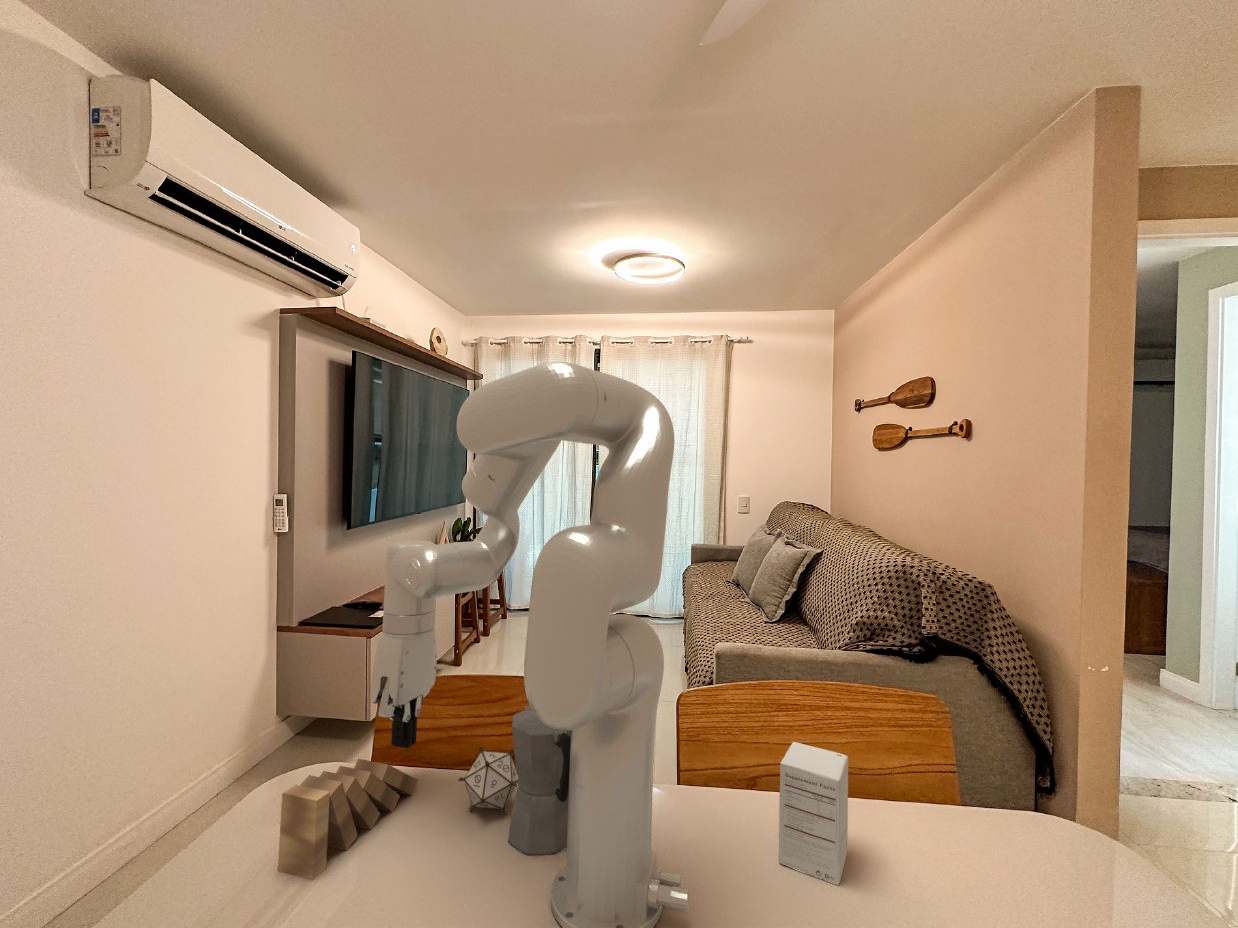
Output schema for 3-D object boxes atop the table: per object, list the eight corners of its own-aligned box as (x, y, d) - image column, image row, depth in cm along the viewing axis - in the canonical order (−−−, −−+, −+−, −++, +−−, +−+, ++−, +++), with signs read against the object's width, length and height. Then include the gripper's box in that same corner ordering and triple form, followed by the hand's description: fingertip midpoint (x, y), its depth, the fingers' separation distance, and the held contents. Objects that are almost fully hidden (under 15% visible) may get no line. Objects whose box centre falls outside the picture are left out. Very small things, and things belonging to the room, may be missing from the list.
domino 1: (325, 868, 66) (329, 791, 66) (312, 880, 64) (316, 800, 64) (291, 859, 67) (296, 784, 68) (277, 870, 65) (282, 793, 66)
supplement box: (790, 833, 76) (792, 739, 76) (848, 853, 72) (850, 754, 72) (776, 864, 69) (778, 761, 70) (839, 888, 65) (840, 779, 66)
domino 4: (399, 795, 79) (371, 771, 73) (392, 811, 78) (363, 788, 72) (370, 789, 80) (340, 765, 75) (363, 804, 79) (331, 781, 73)
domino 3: (380, 813, 75) (355, 777, 70) (371, 829, 74) (345, 793, 69) (349, 806, 76) (323, 770, 72) (340, 822, 75) (312, 786, 70)
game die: (501, 828, 81) (543, 764, 84) (483, 841, 73) (531, 771, 76) (456, 786, 83) (499, 726, 86) (435, 795, 76) (482, 729, 78)
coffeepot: (492, 816, 77) (498, 685, 78) (555, 799, 82) (559, 676, 83) (530, 888, 64) (536, 729, 65) (603, 863, 68) (607, 715, 69)
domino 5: (418, 779, 83) (388, 764, 77) (412, 794, 82) (381, 780, 75) (389, 774, 85) (358, 758, 78) (383, 788, 83) (351, 774, 77)
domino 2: (357, 835, 71) (342, 781, 68) (346, 850, 69) (330, 795, 66) (325, 827, 72) (309, 774, 70) (314, 842, 71) (296, 788, 68)
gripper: (418, 609, 93) (413, 721, 92) (353, 631, 78) (346, 763, 77) (457, 614, 91) (452, 727, 90) (398, 637, 76) (392, 772, 75)
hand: (403, 744), depth 84 cm, fingers closed
